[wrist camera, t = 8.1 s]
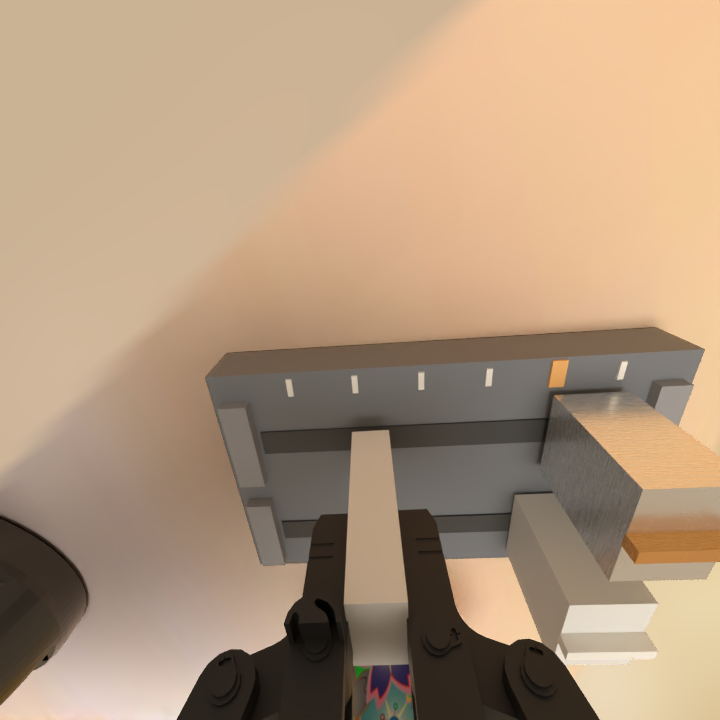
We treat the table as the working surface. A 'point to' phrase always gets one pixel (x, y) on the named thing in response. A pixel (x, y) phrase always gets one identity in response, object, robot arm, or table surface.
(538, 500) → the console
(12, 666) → the robot arm
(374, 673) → the mug
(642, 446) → the fader
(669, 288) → the table surface
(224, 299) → the table surface
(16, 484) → the table surface
